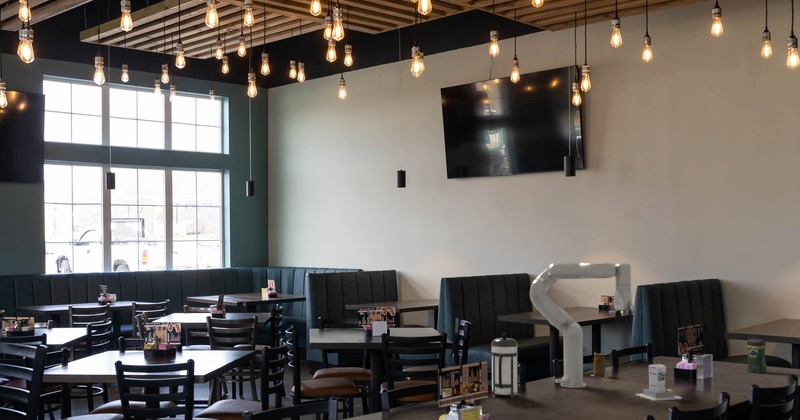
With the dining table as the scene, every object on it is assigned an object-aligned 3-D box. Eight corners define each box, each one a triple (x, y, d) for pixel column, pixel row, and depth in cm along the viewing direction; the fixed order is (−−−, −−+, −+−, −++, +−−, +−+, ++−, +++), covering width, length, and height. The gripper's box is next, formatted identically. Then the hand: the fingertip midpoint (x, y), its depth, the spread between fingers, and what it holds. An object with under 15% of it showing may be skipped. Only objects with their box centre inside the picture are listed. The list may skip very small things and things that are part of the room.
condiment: (602, 375, 453) (602, 353, 453) (609, 377, 444) (609, 355, 445) (590, 375, 451) (589, 353, 452) (597, 378, 443) (596, 355, 443)
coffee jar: (768, 372, 462) (768, 339, 462) (761, 373, 457) (761, 340, 457) (752, 370, 469) (751, 337, 470) (745, 371, 464) (744, 338, 465)
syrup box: (657, 397, 384) (657, 366, 385) (648, 395, 390) (648, 364, 390) (666, 396, 387) (666, 365, 388) (657, 394, 392) (657, 363, 393)
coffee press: (481, 394, 394) (481, 332, 395) (510, 392, 401) (509, 330, 402) (499, 401, 378) (499, 335, 380) (529, 398, 385) (528, 334, 386)
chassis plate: (652, 400, 379) (652, 394, 379) (635, 395, 392) (635, 388, 392) (682, 398, 384) (682, 392, 384) (664, 393, 397) (663, 387, 397)
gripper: (607, 286, 421) (607, 320, 421) (626, 288, 405) (626, 323, 404) (620, 286, 424) (620, 319, 423) (639, 288, 407) (639, 323, 406)
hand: (623, 321), depth 414 cm, fingers open, 9 cm apart
